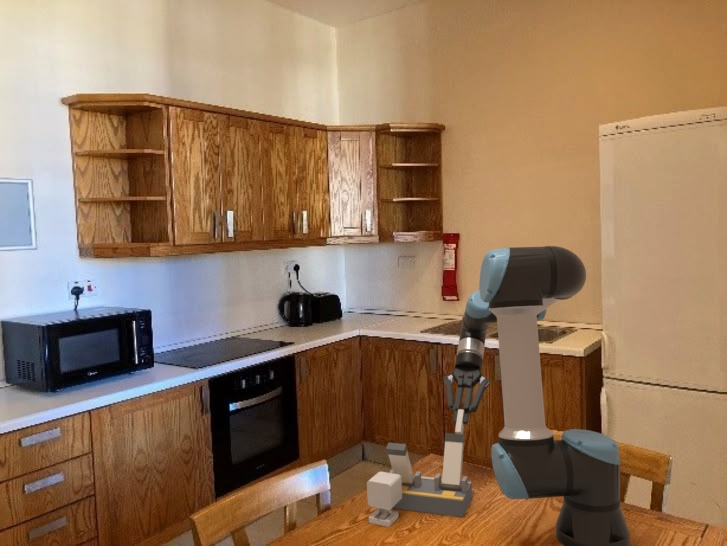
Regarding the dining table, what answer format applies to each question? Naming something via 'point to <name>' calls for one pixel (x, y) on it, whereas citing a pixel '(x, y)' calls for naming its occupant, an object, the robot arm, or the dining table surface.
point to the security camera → (384, 497)
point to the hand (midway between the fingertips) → (458, 434)
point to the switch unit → (435, 496)
